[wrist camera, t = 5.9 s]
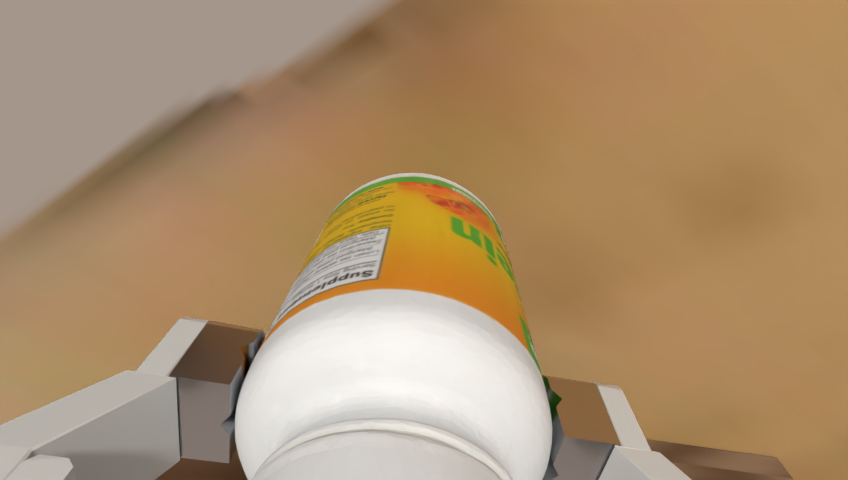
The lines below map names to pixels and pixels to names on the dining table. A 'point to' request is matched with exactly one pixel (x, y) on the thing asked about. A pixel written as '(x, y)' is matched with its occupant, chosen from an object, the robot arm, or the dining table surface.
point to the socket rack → (707, 468)
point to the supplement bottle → (399, 350)
